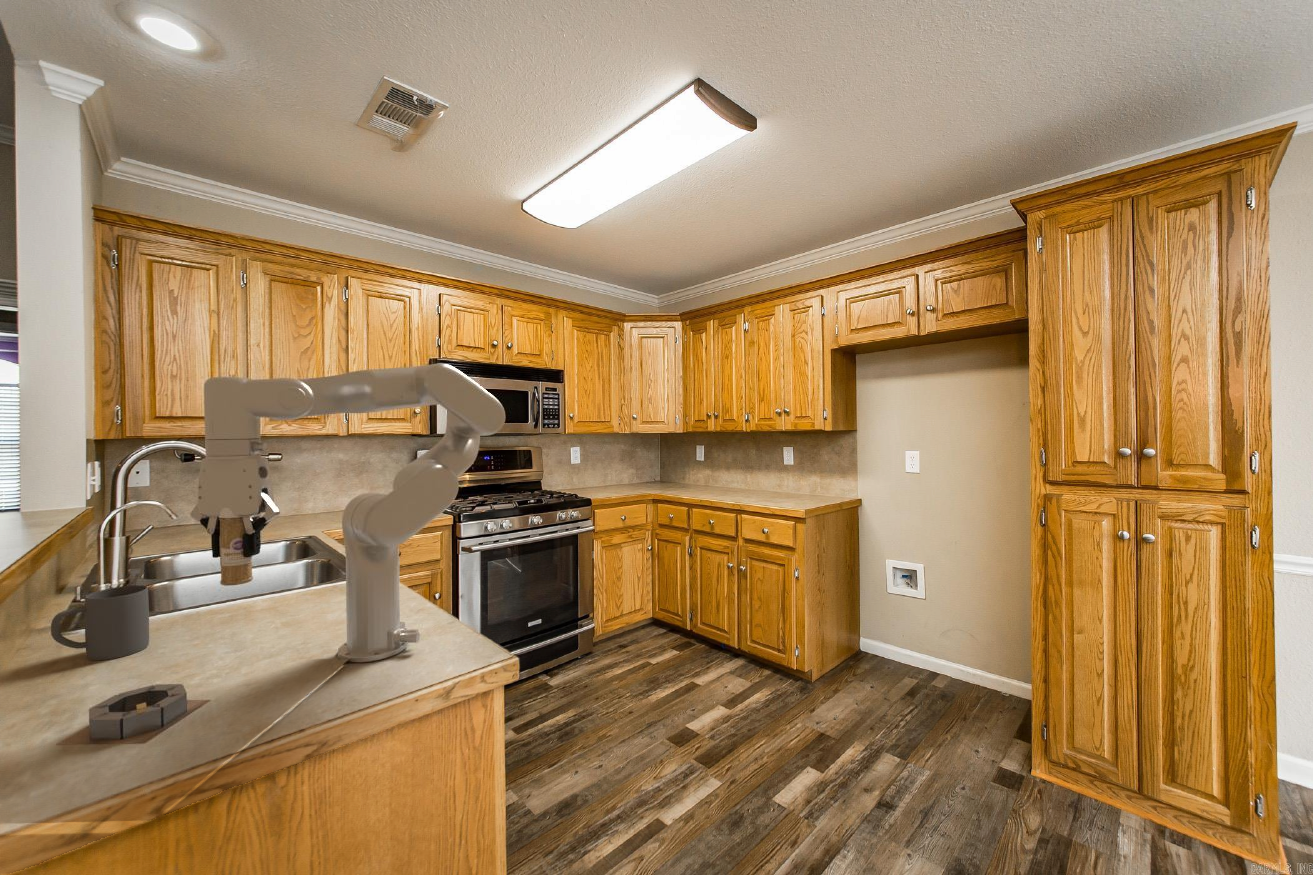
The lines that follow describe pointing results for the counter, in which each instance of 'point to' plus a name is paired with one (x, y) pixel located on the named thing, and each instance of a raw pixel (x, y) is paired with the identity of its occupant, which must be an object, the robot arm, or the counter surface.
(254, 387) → the robot arm
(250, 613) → the counter surface
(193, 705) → the walnut board
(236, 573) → the sprinkles bottle
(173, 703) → the ring
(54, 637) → the mug
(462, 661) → the counter surface
